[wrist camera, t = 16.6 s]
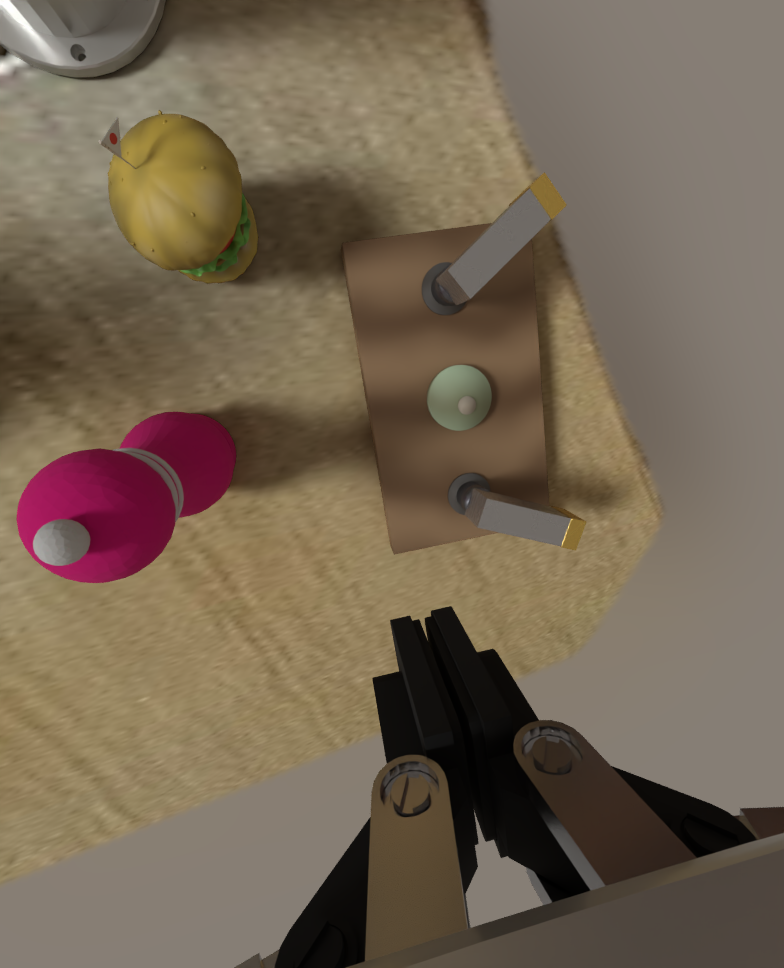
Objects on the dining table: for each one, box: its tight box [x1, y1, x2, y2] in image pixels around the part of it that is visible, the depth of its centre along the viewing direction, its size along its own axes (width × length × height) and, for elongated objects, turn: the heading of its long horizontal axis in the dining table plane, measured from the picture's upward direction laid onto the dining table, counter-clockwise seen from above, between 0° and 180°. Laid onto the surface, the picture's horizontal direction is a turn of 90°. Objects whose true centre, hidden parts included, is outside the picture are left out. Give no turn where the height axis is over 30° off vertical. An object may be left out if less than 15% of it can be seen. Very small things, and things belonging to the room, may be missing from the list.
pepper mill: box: [17, 412, 236, 583], centre depth 26 cm, size 7×7×20 cm
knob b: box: [456, 481, 586, 550], centre depth 35 cm, size 8×2×6 cm, turn 74°
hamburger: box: [99, 110, 258, 283], centre depth 26 cm, size 8×7×12 cm
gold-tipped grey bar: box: [431, 173, 566, 306], centre depth 30 cm, size 8×2×6 cm, turn 134°
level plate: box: [341, 223, 549, 554], centre depth 36 cm, size 24×14×3 cm, turn 9°
